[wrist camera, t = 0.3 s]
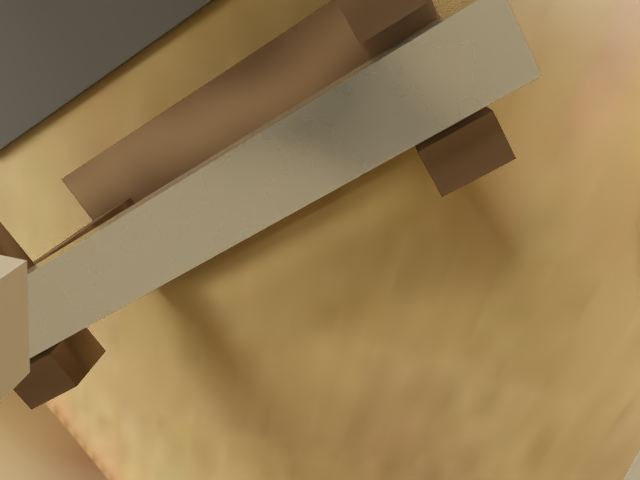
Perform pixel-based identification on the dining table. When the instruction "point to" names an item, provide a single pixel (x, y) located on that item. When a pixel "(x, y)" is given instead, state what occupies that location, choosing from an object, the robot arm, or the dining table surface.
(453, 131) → the hook rack
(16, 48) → the rubber mat
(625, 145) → the dining table surface
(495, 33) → the steel rail
